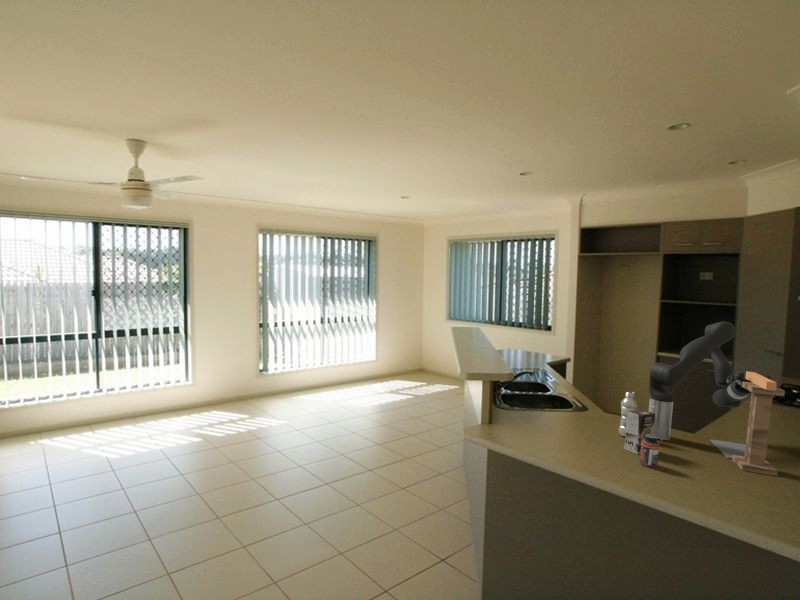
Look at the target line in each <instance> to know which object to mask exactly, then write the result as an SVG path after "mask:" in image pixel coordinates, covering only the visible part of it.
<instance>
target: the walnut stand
mask: <svg viewBox="0 0 800 600" xmlns="http://www.w3.org/2000/svg"><path fill="white" fill-rule="evenodd" d="M742 387H744V388H745V389H747V390H749V391H750V392H752V393H751V394H750V395H751V396H750V404H749V405H750V406H749V415H748V420H747V430H746V432H747V433H746V440H745V441H746V442H745V445H746V448H745V457H744V456H738V455H733V456H732V459H731V460H732V461H733V462H734V464H736V465H737V467H738V468H739V469H741V470H742V471H744V472H750V473H751V472H752V473H757V474H763V475H769V476H774V475H775V476H774V477H778V473H779V471H778V469H776V468H775V467H774V466H773V465H772V464H771V463H770V462H768V461H767V459H766V457H767V452H768V451H767V450H768V441H769V433H770V432H769V431H770V425H771V414H772V408H773V406H772V405H773V398H774V396H778V397H779V396H780V397H785V392H786V390H784V389H782V388H780V387H777V386H776V391H772V390H766V389H764V388H762V387H760V386H758V385H756V384H754V383H750V382H743V383H742Z"/></svg>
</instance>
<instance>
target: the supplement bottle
mask: <svg viewBox="0 0 800 600" xmlns="http://www.w3.org/2000/svg"><path fill="white" fill-rule="evenodd" d="M659 452H660V443H659V442H658V440H657V437H656V436H654V435H651V434H646V435H645V439H644V440H642V443H641V453H640V454H639V463H640V465H641V466H643V467H647V468H650V469H651V468H652V469H653V468H657V467H658V463H659V462H658V461H659Z"/></svg>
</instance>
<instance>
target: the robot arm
mask: <svg viewBox="0 0 800 600" xmlns="http://www.w3.org/2000/svg"><path fill="white" fill-rule="evenodd" d="M736 333H737V332H736V327H735V325H734V324H733V323H732V322H729V321H719V322H715V323H710V324H708V325H706V326H705V328H704V335H703V336H701V337H698V338H696V339H694V340H691V341H690V342H689V343H687V344H686V345H684V346H683V347H682V348H681V350H680V353H679V361H678V362H677V363H675V364H673V365H671V364H668V363H667V364H666V363H663V362H655V363H652V364H653V365H652V366H651V368H650V369H649V370H650V371H649V381H648V384H649V385H648V386H649V387H648V391H649V403H648V410H647V411H648V412H652V413H655V421H654V431H653V435H654V436H656V437H657V439H660V440H659V441H663V440H667V441H669V440H670V439H671V430H672V429H671V427H672V420H673V419H672V418H673V407H674V397H675V396H674V394H673V393H671V392H670V391H669V390H668V389H667V388H666V387H675V386H676V385H678V384H679V383H680V382H681V381H682V380H683V379H684V377H686V375H688V374H689V373H690V372H691V371H692V370H693V369H694V368H695V367H696V366H698V365H700V363H701V362H703V361H704V360H706V359H707V358H708V357H709V356H711V359H712V360H711V361H712V365H713V370H714V379H715V384H716V385H717V386H718V387H723V388H720V389H718V390H716V391H715V392H714V393H713V394H712V401H713V403H714V404H715V405H716V406H718V407H724V408H739V407H740V406H741V404H742V400H744V399H745V398H747V397H748V396H749V395H751V394H752V392H750V391H749V390H747V389H745V388H744V387H742V383H743V382H750V383H753V382H751V381H749V380H747V379H745V378H746V376H745V373H744V372H743V371H742V372H740V373H737V374H735V375H734V371H733V367H732V365H731V363H730V361H729V360H728V359H727V358H726V356H725V355H724V353H723V351H722V349H721V346H723V345H725V344H726V343H727V342H730V341H731V340H733V339H734V337H735V336H736ZM764 377H766V378H768V379H770V380H772V379H771V376H770V375H769V374H765V376H764ZM772 381H773V380H772ZM668 439H669V440H668Z"/></svg>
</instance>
